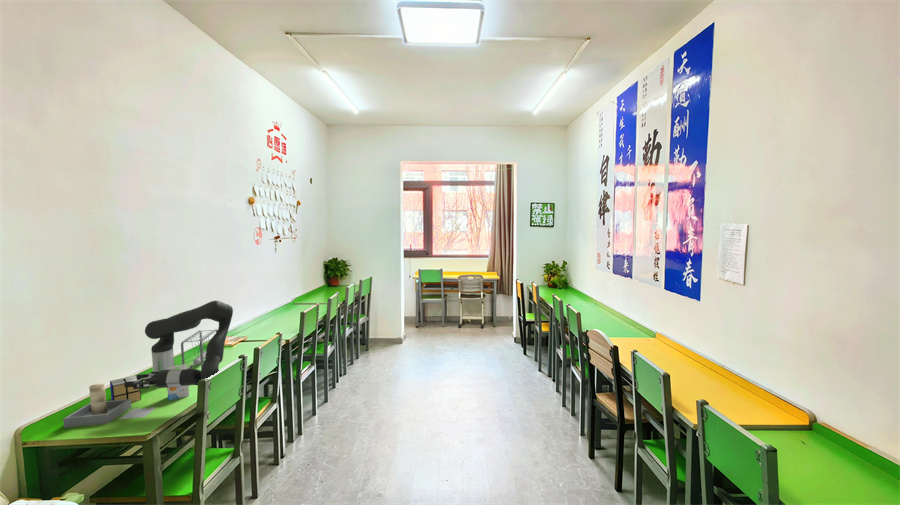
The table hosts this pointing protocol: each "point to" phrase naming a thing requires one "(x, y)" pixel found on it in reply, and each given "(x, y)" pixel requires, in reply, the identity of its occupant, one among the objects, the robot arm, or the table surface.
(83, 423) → the tray
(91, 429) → the table surface
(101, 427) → the table surface
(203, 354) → the newton's cradle
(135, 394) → the puzzle cube
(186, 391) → the ink box
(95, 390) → the wooden canister
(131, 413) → the rubber mat
